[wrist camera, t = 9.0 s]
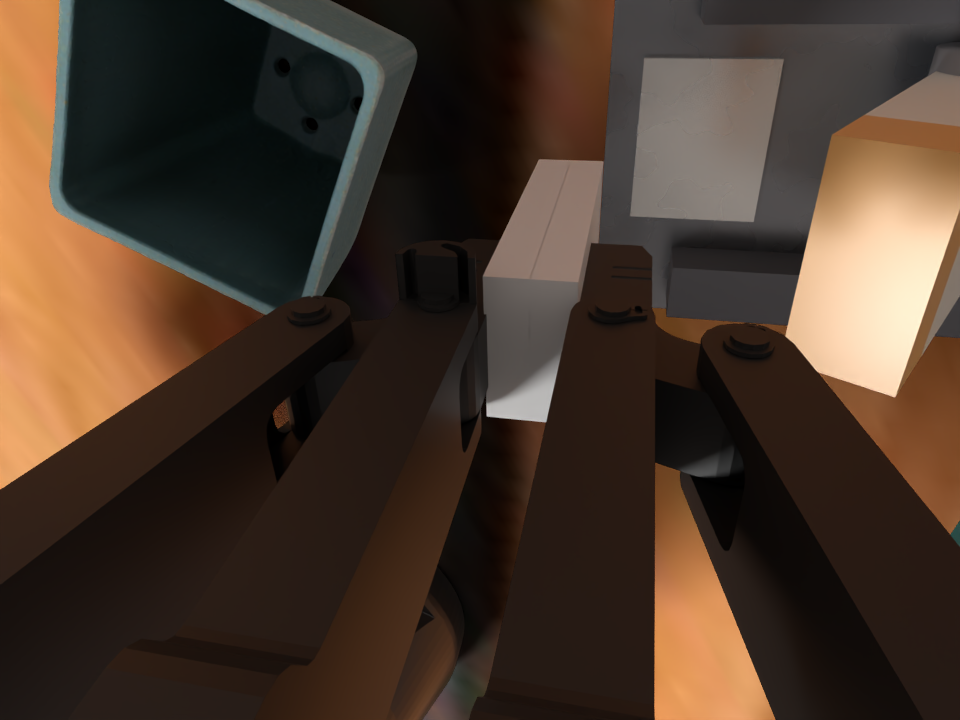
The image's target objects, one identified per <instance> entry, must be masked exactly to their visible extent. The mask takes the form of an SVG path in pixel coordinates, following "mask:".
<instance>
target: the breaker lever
mask: <svg viewBox="0 0 960 720" xmlns="http://www.w3.org/2000/svg"><path fill="white" fill-rule="evenodd" d="M959 296H960V42H952V43H944V44H940V45H937V46H936V50H935V53H934V57H933V60H932V64H931V67H930V71H929V74H928V76H927V77H926V78H924V79H923V80H921V81H919V82H918V83H916V84H914V85H913V86H911V87H909V88H908V89H906V90H904V91H903V92H901V93H900V94H898V95H896V96H895V97H893V98H891V99H890V100H888V101H886V102H885V103H883V104H882V105H880V106H878V107H877V108H875V109H873V110H872V111H870V112H868V113H867V114H865V115H863V116H862V117H860V118H859V119H857V120H855V121H854V122H852V123H850V124H849V125H847V126H845V127H844V128H842V129H840V130H839V131H837V132H836V133H834V134H832V136H831V141H830V145H829V149H828V153H827V158H826V162H825V166H824V171H823V175H822V179H821V184H820V188H819V192H818V197H817V201H816V205H815V210H814V214H813V218H812V223H811V227H810V231H809V236H808V240H807V244H806V249H805V253H804V257H803V262H802V266H801V270H800V275H799V279H798V283H797V288H796V292H795V296H794V301H793V305H792V309H791V314H790V318H789V322H788V327H787V331H786V335H785V337H787V338H788V339H789V340H790V341H792V342H793V343H794V344H795V345H796V347H797V348H798V349H799V350H800V351H801V353H802V354H803V355H804V356H805V358H806V359H807V360H808V361H809V362H810V364H811V365H812V366H813V367H814V369H815V370H816V371H817V372H819V373H822V374H825V375H828V376H831V377H834V378H837V379H841V380H844V381H847V382H850V383H853V384H856V385H859V386H862V387H865V388H868V389H871V390H874V391H877V392H880V393H883V394H886V395H889V396H892V397H896V396H897V394H898V392H899V391H900V389H901V388H902V386H903V385H904V383H905V381H906V380H907V378H908V377H909V375H910V374H911V372H912V370H913V369H914V367H915V366H916V364H917V363H918V361H919V359H920V358H921V356H922V355H923V353H924V352H925V350H926V348H927V347H928V345H929V344H930V342H931V340H932V339H933V337H934V336H935V334H936V333H937V331H938V329H939V328H940V326H941V325H942V323H943V322H944V320H945V318H946V317H947V315H948V314H949V312H950V311H951V309H952V307H953V306H954V304H955V303H956V301H957V300H958V298H959Z"/></svg>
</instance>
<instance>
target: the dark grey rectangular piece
mask: <svg viewBox="0 0 960 720" xmlns="http://www.w3.org/2000/svg"><path fill="white" fill-rule="evenodd" d="M700 18H701V20H702V22H703V24H704V25H778V24H960V0H702V7H701V15H700ZM803 257H804V254H796V253H778V252H760V251H741V250H723V249H704V248H686V247H671V255H670V263H669V271H668V279H667V287H666V315H667V317H677V318H691V319H705V320H719V321H732V322H746V323H760V324H774V325H788V322H789V318H790V314H791V309H792V305H793V301H794V296H795V292H796V288H797V283H798V279H799V275H800V270H801V266H802V262H803ZM935 336H940V337H954V338H960V296H959V298H958V300H957V301H956V303H955V304H954V306H953V307H952V309H951V311H950V312H949V314H948V315H947V317H946V318H945V320H944V322H943V323H942V325H941V326H940V328H939V329H938V331H937V333H936V334H935Z"/></svg>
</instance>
